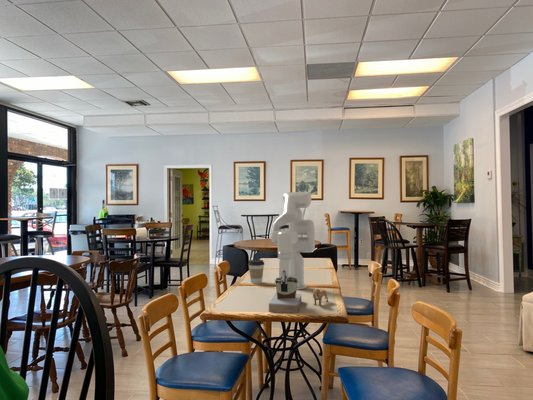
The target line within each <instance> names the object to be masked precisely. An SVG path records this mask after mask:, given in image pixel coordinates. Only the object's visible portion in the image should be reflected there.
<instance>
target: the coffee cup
mask: <svg viewBox="0 0 533 400" xmlns="http://www.w3.org/2000/svg"><path fill="white" fill-rule="evenodd" d="M247 265H248V270H249V277H250V283H251V284H252V283H253V285H258V284H262V282H263V278H264V277H263V276H264V267H265V261H264V260H263V259H255V258H254V259H249V261H248V262H247Z"/></svg>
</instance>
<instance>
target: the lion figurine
mask: <svg viewBox="0 0 533 400" xmlns="http://www.w3.org/2000/svg"><path fill="white" fill-rule="evenodd" d="M323 296H324V300H325V302H327V303H328V302H329V298H328V297H329V296H328V294H327V290H325V289H320V288H315V289H313V292H312V298H313V301H314V303H313V305H314V306H316V305H317V301H318V305H319V306H322V300H323Z"/></svg>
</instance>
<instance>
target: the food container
mask: <svg viewBox="0 0 533 400" xmlns="http://www.w3.org/2000/svg"><path fill="white" fill-rule="evenodd" d="M281 279H282V278H281ZM281 279H279V276H278V277H276V278H275V279H274V285H275V289H276V290H275V291H276V293H277V299H296V294H297V290H296V289H297V283H298V280H297V278H294V277H289V279H287V285H288V291H287V292H281ZM285 281H286V280H285Z"/></svg>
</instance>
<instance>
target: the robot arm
mask: <svg viewBox="0 0 533 400" xmlns="http://www.w3.org/2000/svg"><path fill="white" fill-rule="evenodd" d="M282 200H283V207H282V212H281V213H282V214H281V215H280V216H278V217H277V218H276V220H275V221H274V222H273V224H272V229H271V235H270V238H271V242H272V243H273V244H275V245H277V259H278V260H279V263H278V267H279V268H278V277H279V279H281V278H282V279H281V292H287V291H288V285H287V279H289V277H294V278H297V280H298V283H297V289H296V291H298V290H305V289H307V284H305V264H304V261H305V259H304V257H303V256H302V254H301V253H313V252H314V251H315V247H316V240H315V239H316V238H315V237H316V236H315V223H314V221H313V220H312V219H303V211H302V209H307V208H309V207H310V205H311V204H312V194H311V193H310V192H309V191H299V192H298V191H293V192H286V193H284V194H283V196H282ZM286 225H288V229H280V228H282V227H284V226H286ZM300 235H301V236H300ZM285 280H286V281H285Z"/></svg>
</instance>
